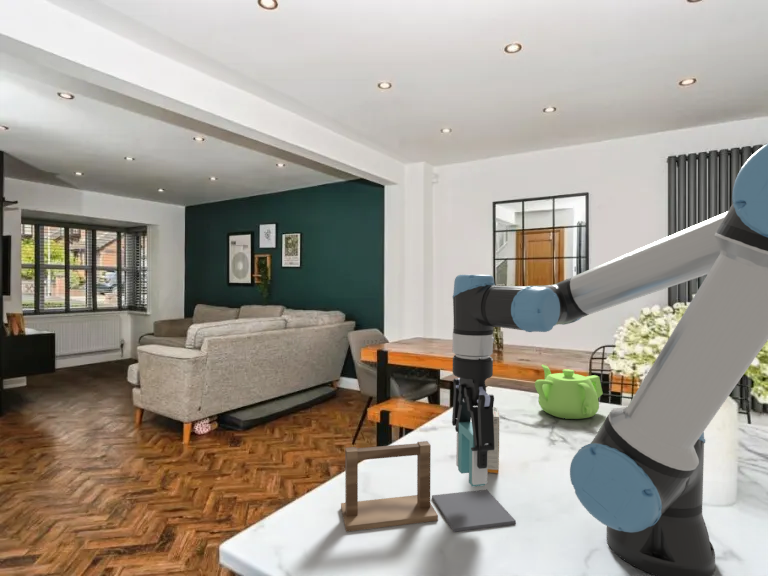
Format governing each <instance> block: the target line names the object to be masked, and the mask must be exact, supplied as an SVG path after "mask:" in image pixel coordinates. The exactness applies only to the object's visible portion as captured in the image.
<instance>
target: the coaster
mask: <svg viewBox="0 0 768 576" xmlns="http://www.w3.org/2000/svg"><path fill="white" fill-rule="evenodd" d="M431 499H432V501H433V502H434V504H435V506H436V507H437V509H438V510H439V512H440V513H441V515H442V516H443V518H444V519H445V521H446V523H447V524H448V526H449V527H450V529H451V530H452V532H453V533H455V532H463V531H464V532H465V531H471V530H472V531H473V530H478V529H486V528H495V527H501V526H502V527H503V526H511V525H516V523H517V522H516V519H515V518H514V517H513V516H512V514H511V513H509V511H507V510H506V509H505V507H504V506H503V505H502V504H501V503H500V502H499V501H498V500H497V499H496V497H495V496H494V495H493V494H492V493H491V492H490V491H489V490H488V489H479V490H469V491H468V490H467V491H460V492H450V493H441V494H440V493H439V494H433V495H431Z"/></svg>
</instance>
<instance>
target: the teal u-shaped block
mask: <svg viewBox="0 0 768 576" xmlns="http://www.w3.org/2000/svg"><path fill="white" fill-rule="evenodd" d="M472 447H475V445H474V437H473V429H472V421H470V422H459V448H458V466H457V471H458V472H459V473H460V474H468V483H469V485H470V486H471V487H473V488H474V487H483V486H484V487H485V486H486V484H478V485H473V484H472V450H471V448H472Z"/></svg>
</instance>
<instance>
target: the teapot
mask: <svg viewBox="0 0 768 576" xmlns="http://www.w3.org/2000/svg"><path fill="white" fill-rule="evenodd" d="M540 366H541V367H542V369H543V371H544V373H543V374H544V379H536V380H535V382H534V387H535V391H536V392H537V394H538V404H539V407H540V408H541V410H542V411H543V412H545V413H547V414H549V415H551V416H553V417H556V418H561V419H564V418H565V419H566V420H570V419H571V420H574V419H575V420H576V419H578V420H580V419H588V418H593V417H594V416H595V415H596V414H597V412H598V411H599V409H600V403H599V398H600V397H601V396H602V395H603V394H604V393H603V388H602V384H601V379H600V376H598V375H596V374H594V375H588V376H585V375H581V374H578V373H575V370H574V369H569V368H567V369H566V368H565V369H562V370H561V371H562V372H559V373H558V372H557V373H552V372H551V369H550V368H549V366H548V365H545V364H541V365H540Z"/></svg>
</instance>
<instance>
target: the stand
mask: <svg viewBox="0 0 768 576" xmlns="http://www.w3.org/2000/svg"><path fill="white" fill-rule="evenodd" d="M344 450H345V454H344V455H345V460H344V461H345V465H344V466H345V469H344V470H345V474H344V475H345V477H344V478H345V480H344V481H345V487H344V488H345V494H344V495H345V497H344V498H345V502H341V503H340V510H341V515H342V519H343V523H344V528H345V533H346V532H356V531H362V530H363V531H364V530H372V529H379V528H387V527H388V528H389V527H395V526H396V527H397V526H404V525H412V524H420V523H429V522H436V521H439V514H438V512H436V510H435V508H434V506H433V505H432V503H431V456H432V455H431V452H432V450H431V444H430V443H429V440H426V441H425V440H424V441H417V443H405V444H396V445H395V444H393V445H383V446H382V445H380V446H369V447H367V446H366V447H356V446H351V447H350V446H349V447H345V449H344ZM409 456H410V457H411V456H417V461H416V462H417V464H416V465H417V466H416V467H417V474H416V477H417V478H416V479H417V481H416V483H417V484H416V485H417V488H416V489H417V490H416V493H417V494H414V495H405V496H395V497H387V498H375V499H368V500H358V497H359V496H358V491H359V490H358V489H359V488H358V486H359V485H358V482H359V480H358V479H359V475H358V471H359V469H358V465H359V464H358V462H359V461H364V460H376V459H388V458H390V459H391V458H400V457H401V458H402V457H409Z"/></svg>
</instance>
